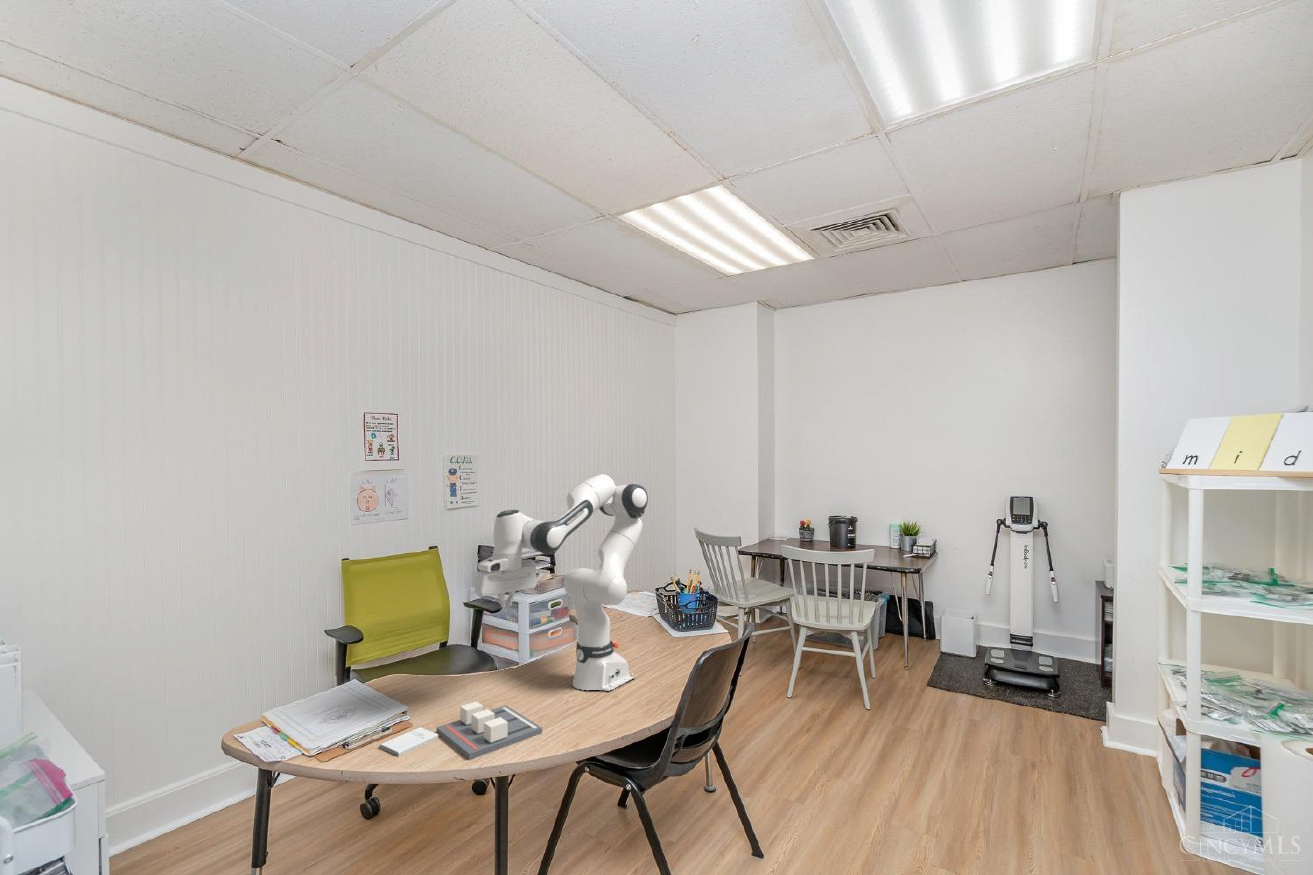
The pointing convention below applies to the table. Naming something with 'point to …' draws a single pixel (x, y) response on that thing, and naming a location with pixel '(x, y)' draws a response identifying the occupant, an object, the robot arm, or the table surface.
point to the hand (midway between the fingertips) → (506, 606)
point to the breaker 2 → (495, 729)
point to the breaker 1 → (469, 711)
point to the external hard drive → (408, 741)
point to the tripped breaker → (481, 720)
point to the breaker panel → (474, 742)
